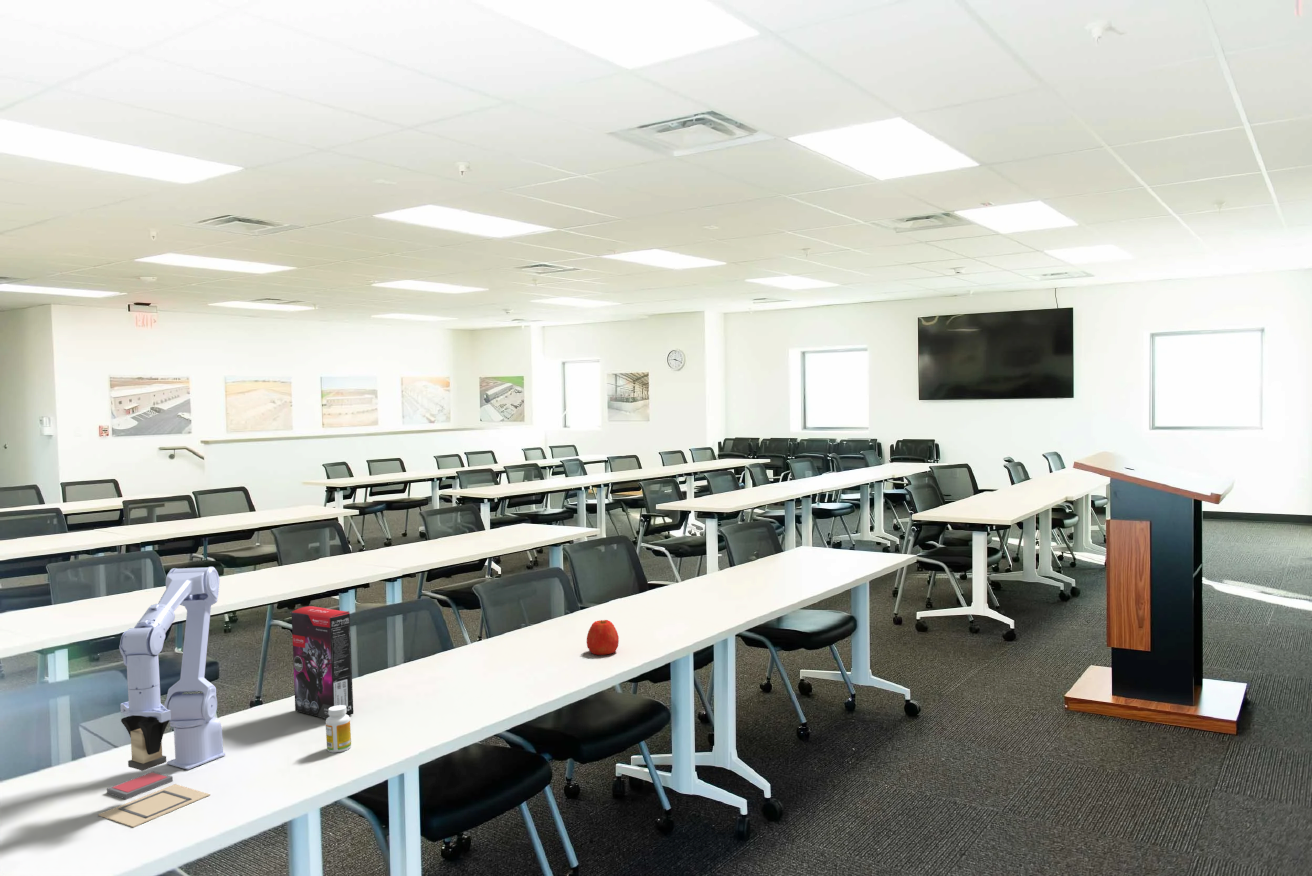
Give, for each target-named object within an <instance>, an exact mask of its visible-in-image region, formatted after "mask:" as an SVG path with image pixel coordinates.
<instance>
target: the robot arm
mask: <svg viewBox="0 0 1312 876" xmlns="http://www.w3.org/2000/svg"><path fill="white" fill-rule="evenodd" d="M220 580H221V579H220V576H219V572H218V571H217V568H215V567H214V566H208V567H187V568H185V567H183V568H178V567H177V568H176V567H174V568H173V567H172V568H171V569H170V570H169V572H168V573H167V575H166V577H165V590H164V592H163V594H162V595H161V597H160V599H159V601H158V603H155V604H151V605H150V606H149V607H148V608H147V609H146V611H145V612H144V613H143V615H142V616H141V618H140V619H139V620H138V621H137V623H136V624H135V625H134V627H132V628H129V629H127V630H125V631H124V632H123V633H122V635H121V637H120V642H119V646H118V647H119V652H120V655H121V656H122V660H123V665H124V666H125V667H126V677H127V695H128V701H124V702H122V703H120V704H119V706H120V707H119V708H120V713H122V714H123V716H124V717H123V718H120V722H121V723H122V725H123V726H124V727H125V729H126V731H127V733H128V735H129V737H130V739H131V732H130V731H134V730H137V729H140V728H141V730H142V732H143V735H144V739H145V745H146V750H147V753H148V754H149V755H151V754H154V753H156V752H159V750H160V746H161V742H162V741H163V737H164V734H165V731H166V728H167V726H168V725H169V723H170V725H169V726H170V727H172V728H173V739H174V758H173V759H171V760H167V761H166V764H167V765H169V766H173V767H176V768H180V769H184V770H191V769H193V768H196V767H198V766H199V767H200V766H201V765H203V764H206V763H208V762H211V761H214V760H217V759H220V758H221V757H224V756H226V752H224V745H223V743H224V741H223V727H222V724H221V722H220V720H219V718H217V717H216V716H215V715H216V714H217V709H218V699H217V688H216V686H215V685H214V684H213V683H211V682H210V681H209V680H207V678H205V676H206V675H205V674H206V663H207V652H208V643H209V632H210V631H209V630H210V621H211V609H212V606H214V605H215V604H216V603H218V600H219V599H218V598H219V592H220V591H219V590H220V589H219V588H220ZM179 606H182V607H184V608H185V609H186V617H185V630H184V639H183V648H182V658H181V669H180V679H179V680H178V681H176V682H175V683H174V684H173V685H171V686H170V687H169V688H168V690H167V695H166V699H165V701H164V704H162V703H161V701H162V699H161V684H160V682H161V681H160V679H161V678H160V665H159V663H160V662H159V659H160V658H159V654H160V653H161V652H162V650H163V646H164V642H165V639H166V633H167V631H168V630H170V629H169V628H170V627H171V626H172V624H173V623H174V621H175V618H176V614H175V611H176V610H177V608H179ZM193 692H195V693H193ZM196 692H198V693H196ZM199 692H200V693H199ZM162 743H163V742H162Z"/></svg>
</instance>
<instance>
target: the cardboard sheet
mask: <svg viewBox="0 0 1312 876" xmlns="http://www.w3.org/2000/svg"><path fill="white" fill-rule="evenodd" d="M209 796H211V793H207V792H204V791H200V790H197V789H193V788H190V787H187V786H183V785H180V784H177V783H175V784H172V785H168V786H167V787H164V788H161V789H159V790H157V791H154V792H150V793H149V794H147V795H144V796H141V797H139V798H137V799H134V800H131V801H129V802H126V803H124V804H121V805H118V806H116V807H113V808H111V809H109V810H106V811H103V812H101V813H99V814H97V815H98V816H99V817H101V818H105V819H108V820H110V821H113V822H116V823H119V824H122V825H124V826H127V827H131V828H136V827H138V826H140V825H141V826H142V825H143V824H145V823H148V822H151V821H152V820H155V819H157V818H159V817H162V816H164V815H167V814H169V813H171V812H173V811H176V810H179V809H181V808H183V807H185V806H187V805H190V804H192V803H195V802H198V801H200V800H202V799H206V798H207V797H209Z"/></svg>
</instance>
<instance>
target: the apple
mask: <svg viewBox="0 0 1312 876" xmlns="http://www.w3.org/2000/svg"><path fill="white" fill-rule="evenodd" d="M619 638H620V637H619V634H618V631H617V629H616V627H615V625H614V624H613V623H612V622H611V621H610V620H608V619H600V620H597V621H594V622H593V623H592V624H591V626H590V628H589V629H588V633H587V636H586V646H587V647H586V648H587V649H588V650H589V652H590V653H592V654H593V655H598V656H607V655H611V654H614V653H616V651H617V650H618V648H619V641H620V640H619Z"/></svg>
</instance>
